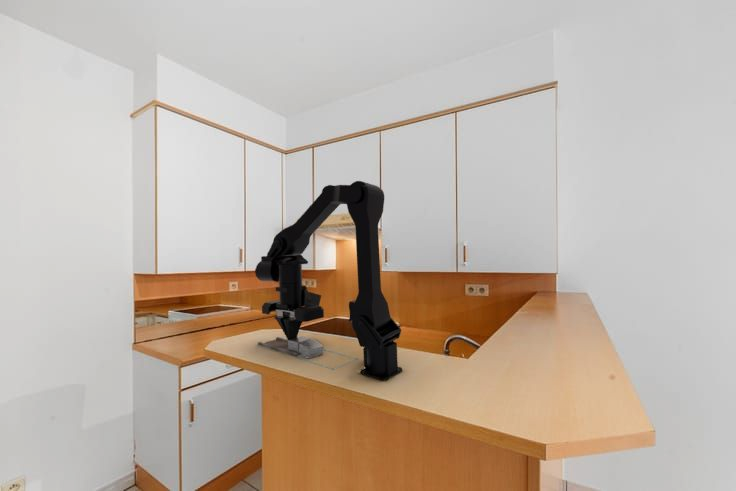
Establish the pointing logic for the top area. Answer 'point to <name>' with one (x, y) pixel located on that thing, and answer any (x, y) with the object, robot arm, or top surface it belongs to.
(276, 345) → the slot board
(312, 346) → the near chip
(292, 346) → the pale grey block
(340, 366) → the tray
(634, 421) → the top surface
